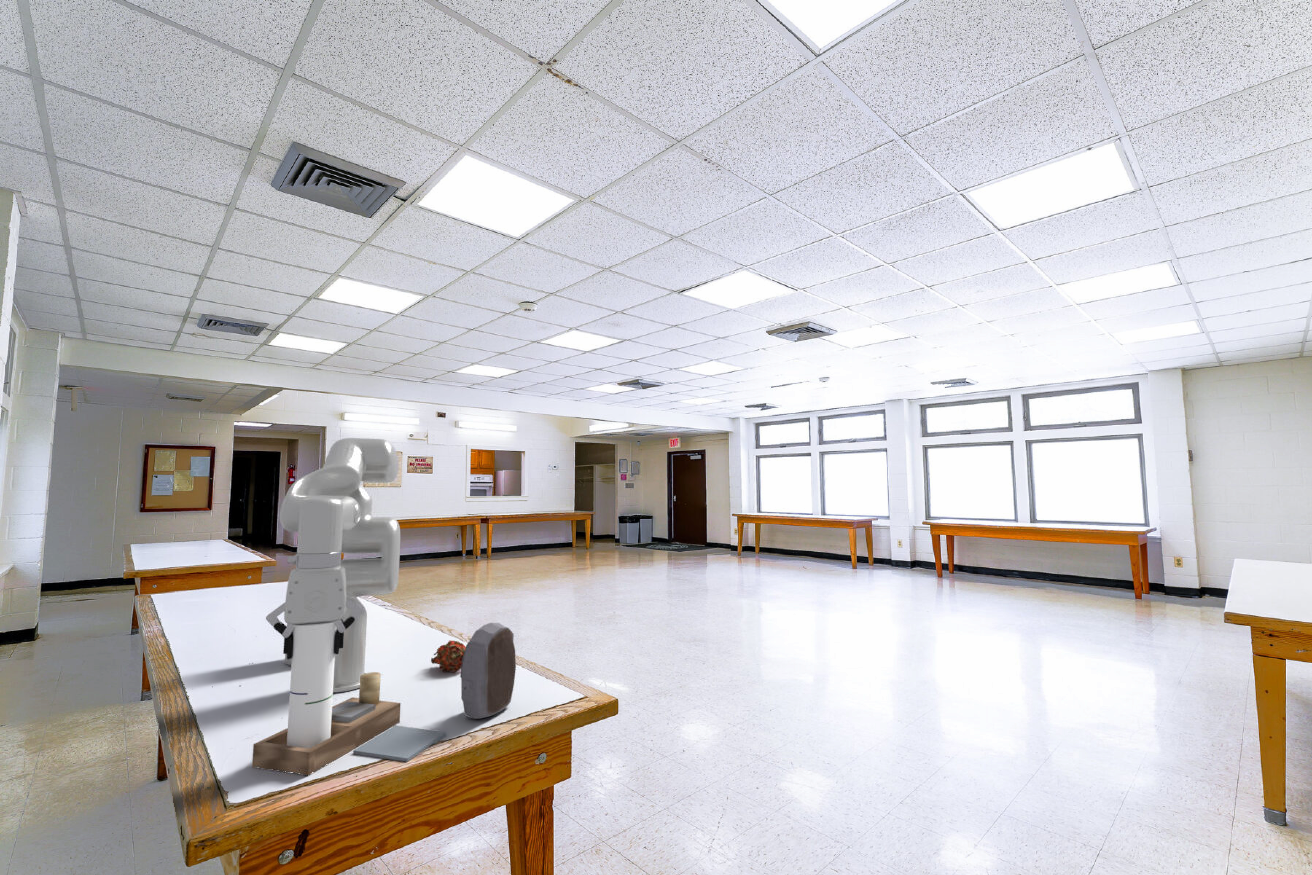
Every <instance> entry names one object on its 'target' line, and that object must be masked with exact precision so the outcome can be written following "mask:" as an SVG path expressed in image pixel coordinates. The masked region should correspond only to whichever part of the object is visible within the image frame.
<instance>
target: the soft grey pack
mask: <svg viewBox="0 0 1312 875" xmlns="http://www.w3.org/2000/svg"><path fill="white" fill-rule="evenodd" d="M471 636H472V637H471V638H470V639H469V641H468V642H467V644H466V645H465V647H466V648H465V652H464V655H463V658H462V667H461V668H460V675H459V676H460V678H461V679H460V681H461V682H460V683H461V684H460V685H461V700H462V705H463V713H464V715H465V716H466V717H468V718H471V719H483V718H487V717H491V716H494V715H496V714H498V713H499V712H502V711H503V710H504V709H506V708H507V707H508V706H510V704H511V702H512V697H513V693H514V692H513V691H514V686H515V681H516V680H515V678H516V670H517V669H516V668H517V665H516V664H517V662H516V658H517V657H516V648H515V644H514V639H515V638H514V633H513V631H512V630H511V629H510V628H509V627H507V626H505V625H503V624H501V623H500V622H489V623H486V624H484V625H482V626H481V627H480V628H478V629H476V630H475V631H474V633H473V635H471Z"/></svg>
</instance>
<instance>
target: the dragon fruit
mask: <svg viewBox="0 0 1312 875" xmlns="http://www.w3.org/2000/svg"><path fill="white" fill-rule="evenodd" d="M465 648H466V645H464V643H462V642H460V641H459V640H448V641H447V643H445V644H442V645H440V646H439V647H438V648H437V649H436V652H434V653H433V656H435V657H431V659H430V662H431V663H432V665H433V664H436V665H439V666H438V668H439V670H440V671H442V672H446V671H448V672H454V673H455V672H458V670H459V669H461V667H462V658H463V655H464V652H465Z"/></svg>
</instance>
